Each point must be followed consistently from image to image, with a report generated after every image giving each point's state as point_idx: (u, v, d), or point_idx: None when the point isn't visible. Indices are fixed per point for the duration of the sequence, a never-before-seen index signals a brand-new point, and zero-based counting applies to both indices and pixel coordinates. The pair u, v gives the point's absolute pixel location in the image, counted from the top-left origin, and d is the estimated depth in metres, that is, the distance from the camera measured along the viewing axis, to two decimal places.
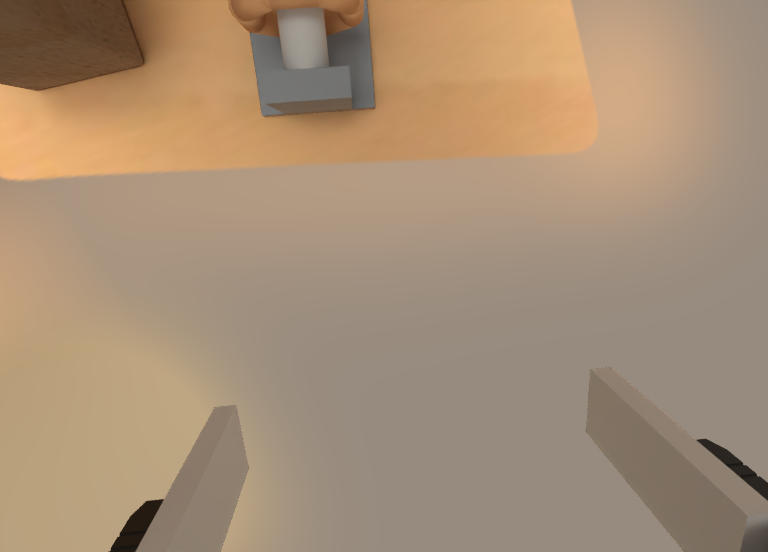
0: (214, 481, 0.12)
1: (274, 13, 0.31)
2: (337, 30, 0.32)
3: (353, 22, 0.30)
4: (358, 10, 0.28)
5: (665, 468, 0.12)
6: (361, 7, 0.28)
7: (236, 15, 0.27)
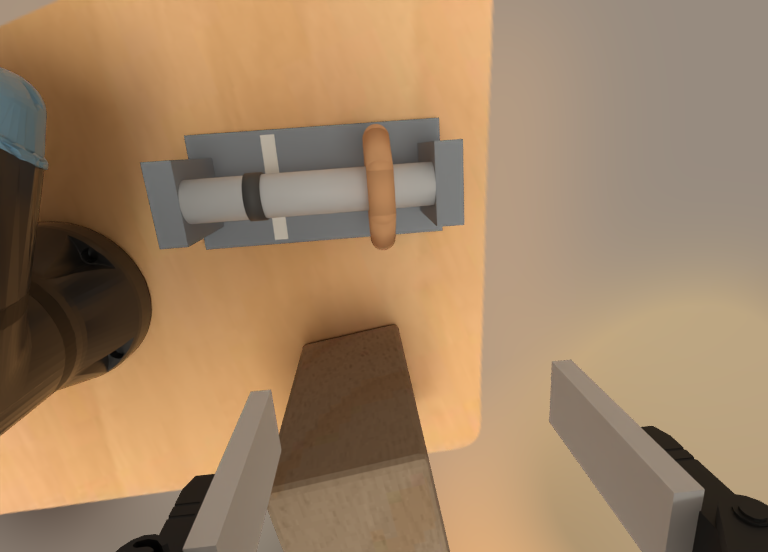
0: (257, 458, 0.13)
1: None
2: None
3: None
4: (386, 130, 0.29)
5: (611, 453, 0.13)
6: (383, 126, 0.29)
7: (392, 243, 0.31)
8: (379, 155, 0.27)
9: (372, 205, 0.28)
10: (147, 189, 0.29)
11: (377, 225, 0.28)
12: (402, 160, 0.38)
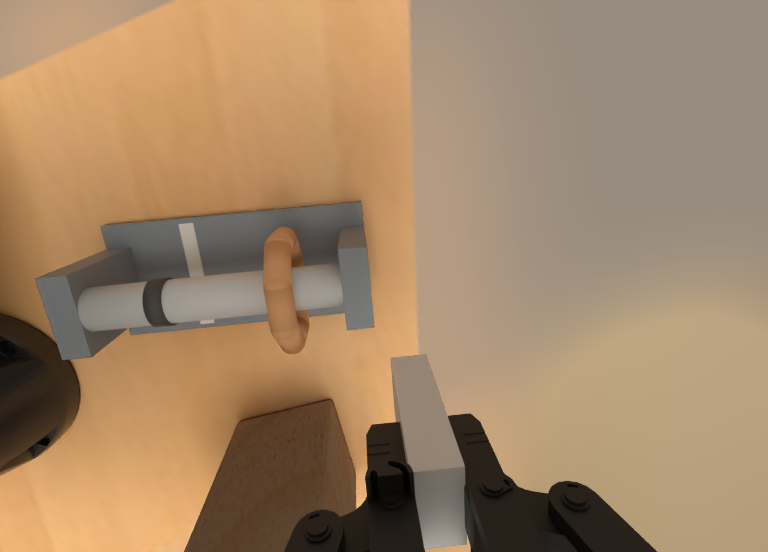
0: None
1: None
2: (299, 250, 0.33)
3: (294, 239, 0.31)
4: (287, 240, 0.28)
5: None
6: (284, 237, 0.28)
7: (301, 348, 0.30)
8: (274, 273, 0.27)
9: (270, 321, 0.27)
10: (44, 304, 0.28)
11: (277, 339, 0.28)
12: (326, 244, 0.37)
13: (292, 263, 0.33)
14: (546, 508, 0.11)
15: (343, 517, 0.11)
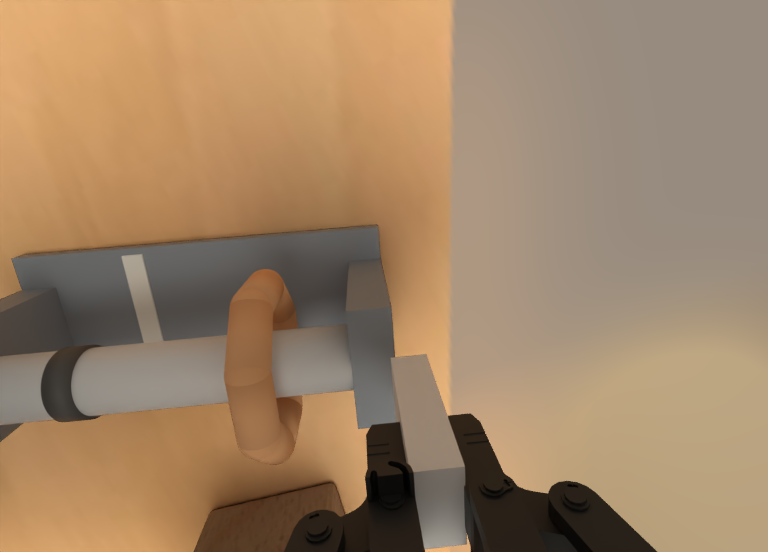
0: None
1: None
2: (288, 301, 0.22)
3: (279, 289, 0.20)
4: (266, 297, 0.18)
5: None
6: (262, 292, 0.18)
7: (289, 456, 0.20)
8: (242, 358, 0.16)
9: (237, 431, 0.17)
10: None
11: None
12: (329, 284, 0.27)
13: (278, 319, 0.22)
14: (546, 508, 0.11)
15: (343, 517, 0.11)
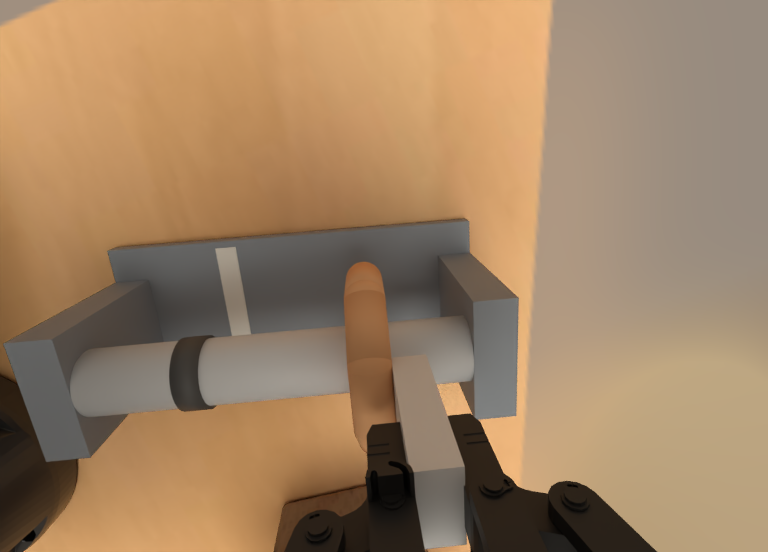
0: None
1: None
2: None
3: (382, 282, 0.20)
4: (381, 289, 0.18)
5: None
6: (376, 284, 0.18)
7: None
8: (368, 348, 0.16)
9: (357, 422, 0.17)
10: (18, 381, 0.18)
11: (366, 447, 0.18)
12: (417, 277, 0.27)
13: None
14: (546, 508, 0.11)
15: (343, 517, 0.11)
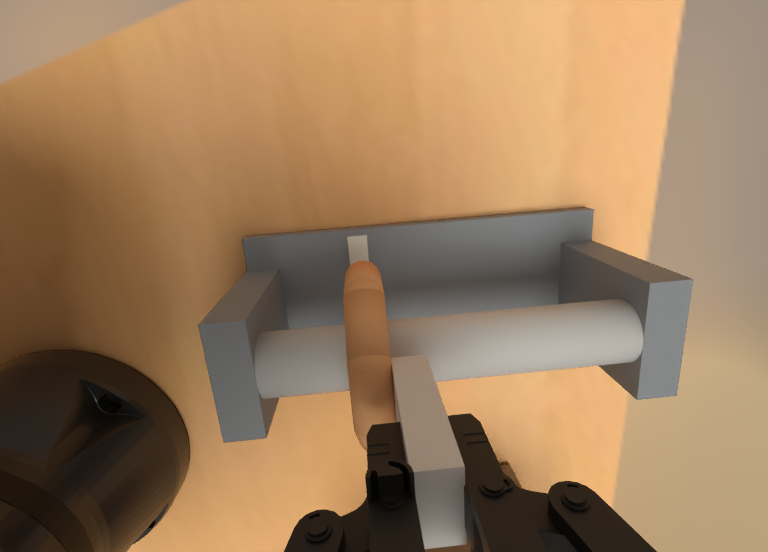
0: None
1: None
2: None
3: (381, 280, 0.20)
4: (380, 287, 0.18)
5: None
6: (375, 282, 0.18)
7: None
8: (368, 345, 0.16)
9: (357, 419, 0.17)
10: (208, 362, 0.19)
11: (365, 444, 0.18)
12: (539, 265, 0.28)
13: None
14: (546, 508, 0.11)
15: (343, 517, 0.11)
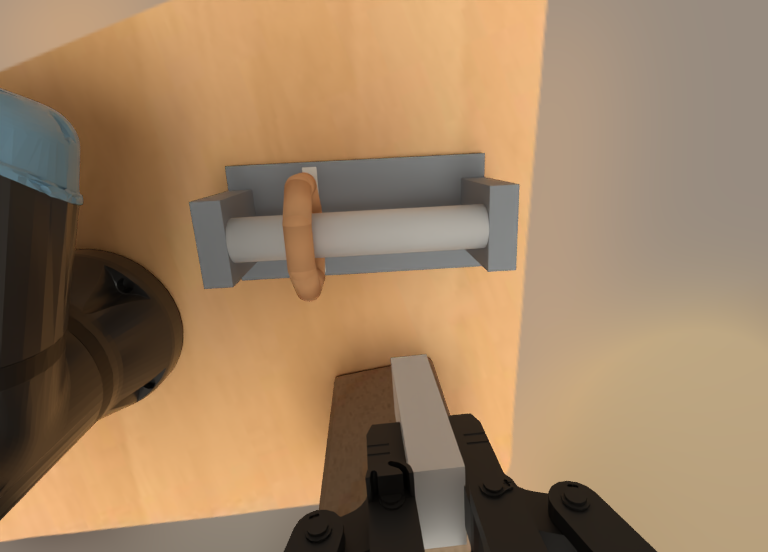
0: None
1: None
2: (318, 198, 0.32)
3: (314, 184, 0.30)
4: (308, 181, 0.28)
5: None
6: (305, 177, 0.28)
7: (317, 295, 0.30)
8: (295, 210, 0.26)
9: (288, 261, 0.27)
10: (194, 229, 0.28)
11: (294, 280, 0.27)
12: (445, 195, 0.37)
13: None
14: (546, 508, 0.11)
15: (343, 517, 0.11)
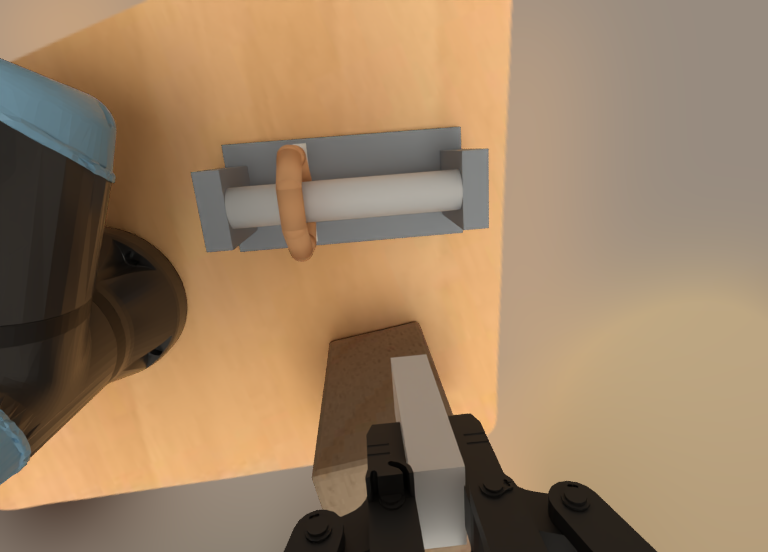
0: None
1: None
2: (308, 169, 0.35)
3: (304, 154, 0.33)
4: (298, 150, 0.31)
5: None
6: (295, 147, 0.31)
7: (309, 256, 0.33)
8: (286, 175, 0.29)
9: (282, 221, 0.30)
10: (196, 197, 0.31)
11: (288, 239, 0.30)
12: (425, 166, 0.40)
13: None
14: (546, 508, 0.11)
15: (343, 517, 0.11)
